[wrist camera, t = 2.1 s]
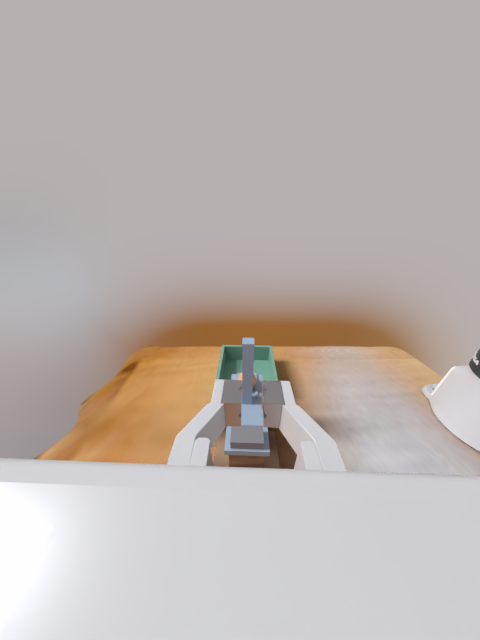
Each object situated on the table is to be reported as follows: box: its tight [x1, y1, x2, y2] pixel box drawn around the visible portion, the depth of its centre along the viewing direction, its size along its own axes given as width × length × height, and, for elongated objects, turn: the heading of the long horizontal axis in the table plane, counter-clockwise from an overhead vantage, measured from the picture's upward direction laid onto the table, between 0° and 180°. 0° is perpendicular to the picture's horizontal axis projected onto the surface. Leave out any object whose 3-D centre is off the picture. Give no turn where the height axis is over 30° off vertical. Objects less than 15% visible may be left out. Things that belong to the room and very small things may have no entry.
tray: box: [216, 345, 278, 381], centre depth 44 cm, size 12×12×5 cm
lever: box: [224, 338, 270, 456], centre depth 29 cm, size 14×6×13 cm, turn 178°
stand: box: [213, 426, 280, 469], centre depth 32 cm, size 16×10×8 cm, turn 178°
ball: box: [238, 373, 256, 387], centre depth 34 cm, size 3×3×3 cm
